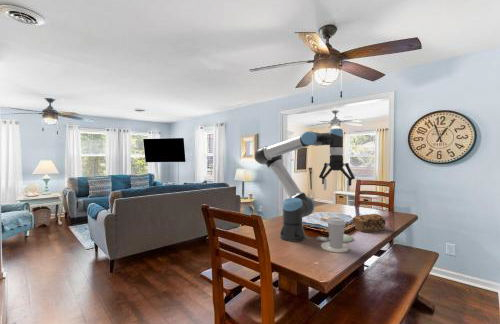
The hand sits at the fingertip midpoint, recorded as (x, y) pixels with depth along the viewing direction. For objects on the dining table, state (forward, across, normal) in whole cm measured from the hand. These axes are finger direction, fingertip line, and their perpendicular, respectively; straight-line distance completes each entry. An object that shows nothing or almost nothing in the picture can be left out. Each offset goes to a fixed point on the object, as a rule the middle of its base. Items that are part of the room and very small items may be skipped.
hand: (336, 190), depth 148 cm
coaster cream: (+29, +3, -14) cm, 33 cm away
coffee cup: (+29, +4, -14) cm, 32 cm away
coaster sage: (+29, +2, +4) cm, 30 cm away
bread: (+30, +12, +33) cm, 46 cm away
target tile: (+29, -7, -5) cm, 30 cm away
